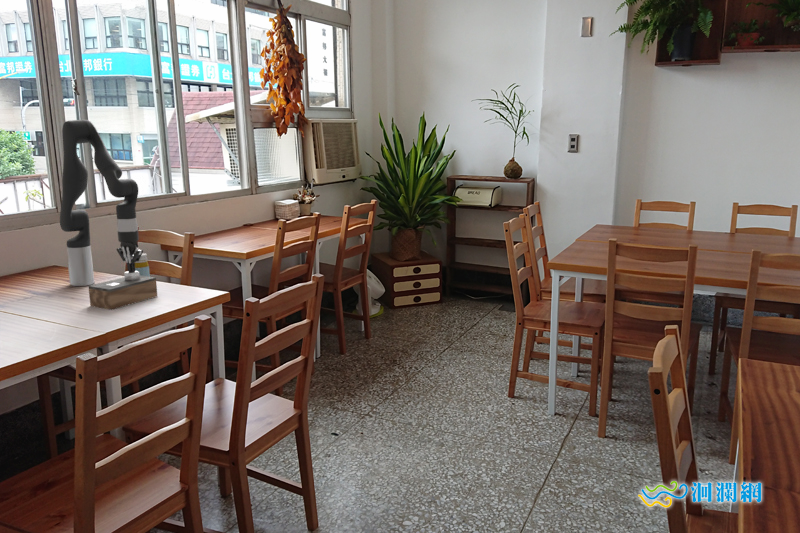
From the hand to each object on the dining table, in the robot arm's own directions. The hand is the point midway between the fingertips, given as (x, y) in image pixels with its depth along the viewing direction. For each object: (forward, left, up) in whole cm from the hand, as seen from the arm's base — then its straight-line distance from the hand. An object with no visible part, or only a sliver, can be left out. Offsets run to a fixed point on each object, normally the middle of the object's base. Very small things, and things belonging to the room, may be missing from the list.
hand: (131, 271), depth 242 cm
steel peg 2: (0, 0, -8) cm, 8 cm away
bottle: (-11, +14, -11) cm, 21 cm away
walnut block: (0, -4, -11) cm, 12 cm away
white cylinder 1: (0, -9, -11) cm, 14 cm away
